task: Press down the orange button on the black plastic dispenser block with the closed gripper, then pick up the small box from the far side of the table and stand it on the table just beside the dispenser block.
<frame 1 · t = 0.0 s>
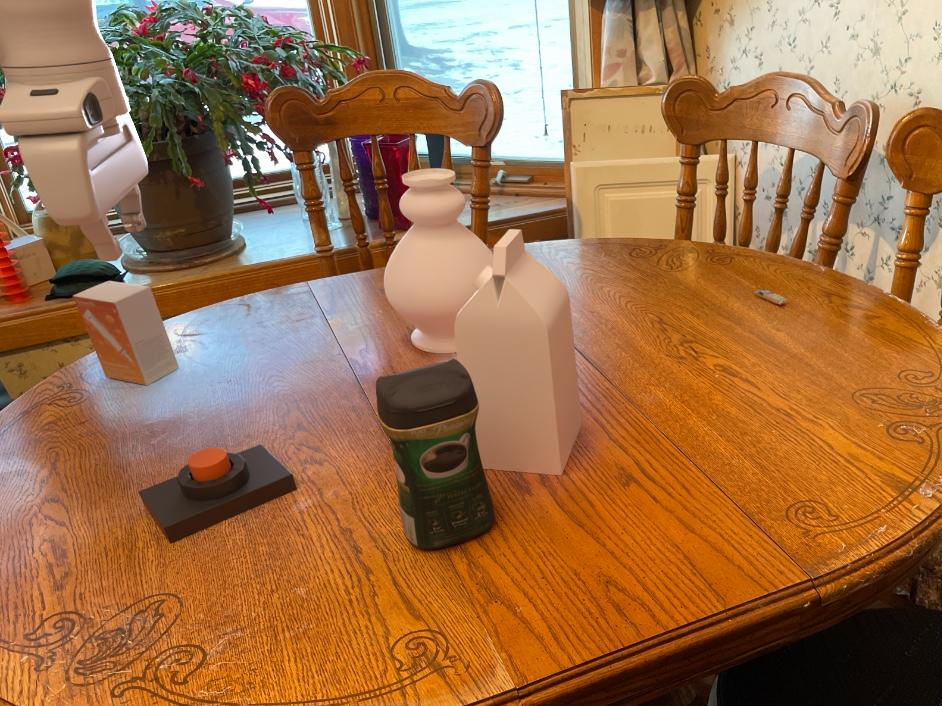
hand: (125, 244, 79), 28 cm above the table, tool pointing down, fingers open, 8 cm apart
small box: (143, 374, 116), on the table
decorative vase: (451, 337, 124), on the table
granola bar: (770, 300, 133), on the table
coffee jar: (449, 527, 83), on the table
dispenser: (221, 498, 89), on the table
milk: (527, 445, 97), on the table
button: (209, 464, 86), point 5 cm above the table, slide at 0.1 cm
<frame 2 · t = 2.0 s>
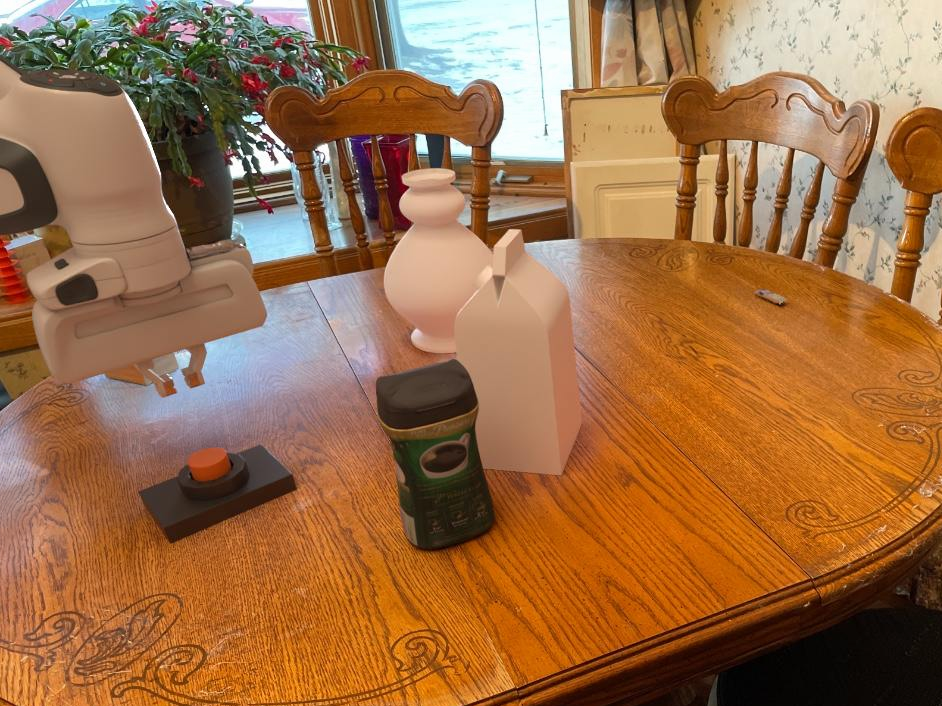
hand: (182, 389, 81), 14 cm above the table, tool pointing down, fingers closed
nothing on the table moved.
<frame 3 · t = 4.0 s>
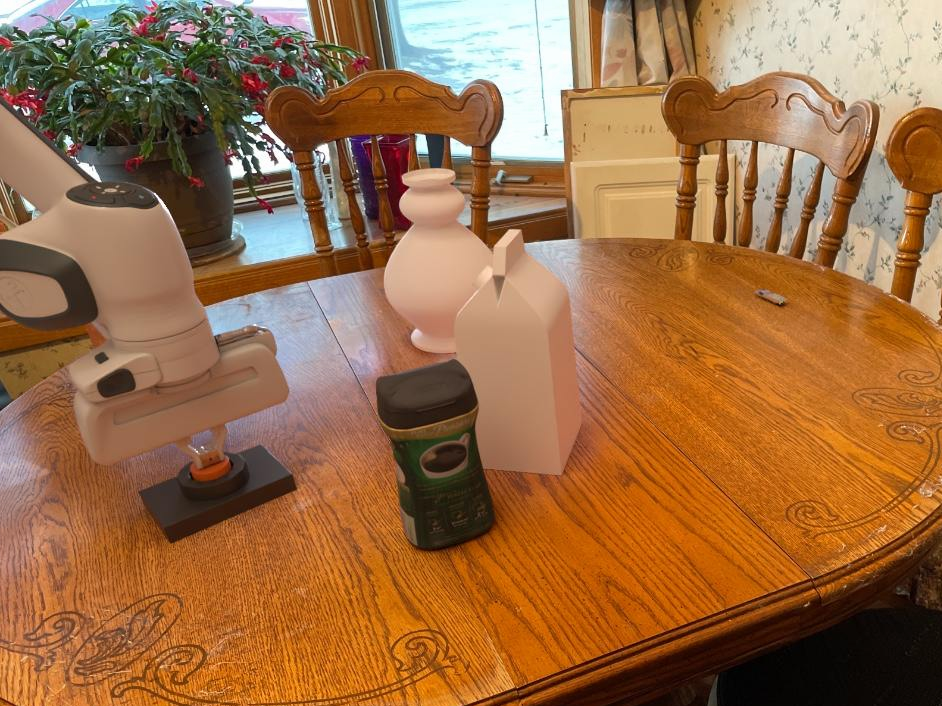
hand: (210, 463, 86), 5 cm above the table, tool pointing down, fingers closed, pressing on button
button: (212, 471, 87), point 4 cm above the table, slide at -0.8 cm, touching gripper
everything else where it was.
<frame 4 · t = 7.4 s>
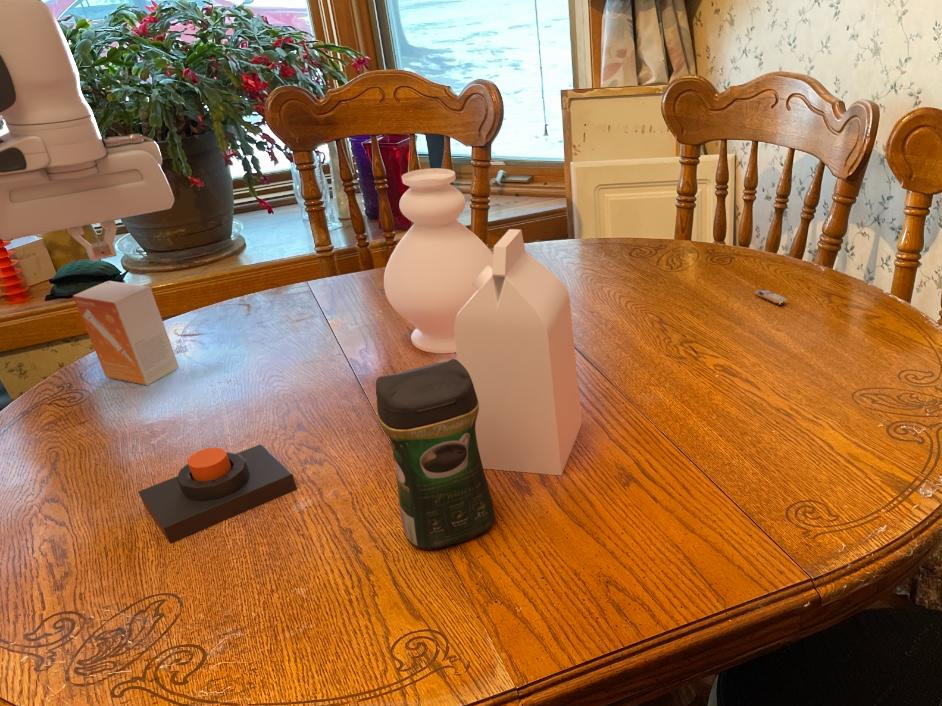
hand: (103, 257, 100), 20 cm above the table, tool pointing down, fingers closed
button: (209, 464, 86), point 5 cm above the table, slide at 0.1 cm
everything else where it was.
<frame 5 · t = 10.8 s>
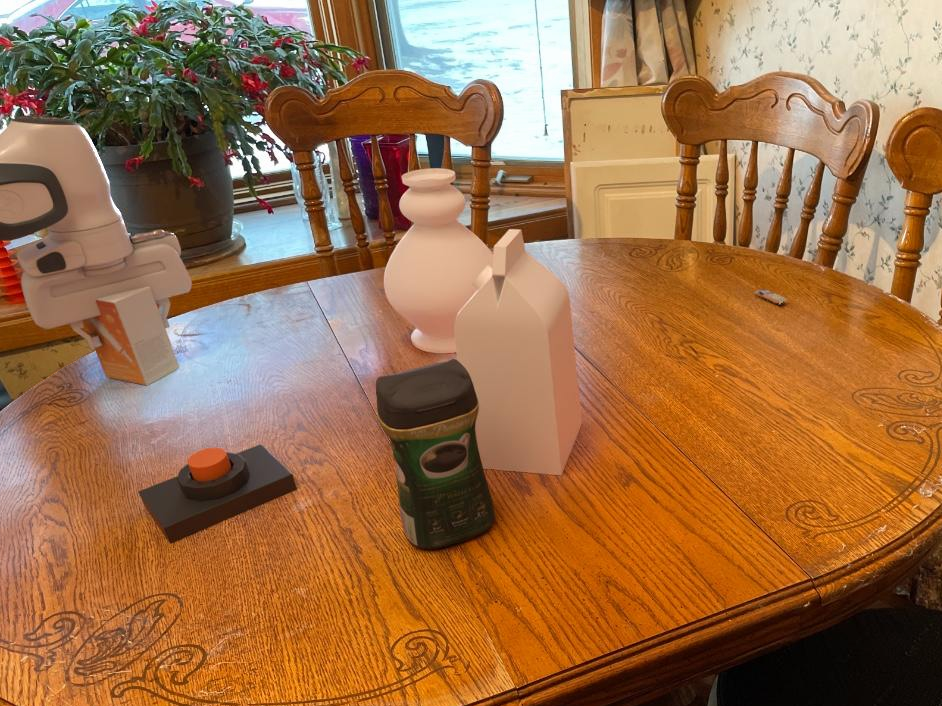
hand: (130, 337, 113), 6 cm above the table, tool pointing down, fingers closed on small box, 8 cm apart
small box: (144, 374, 116), on the table, touching gripper
everything else where it was.
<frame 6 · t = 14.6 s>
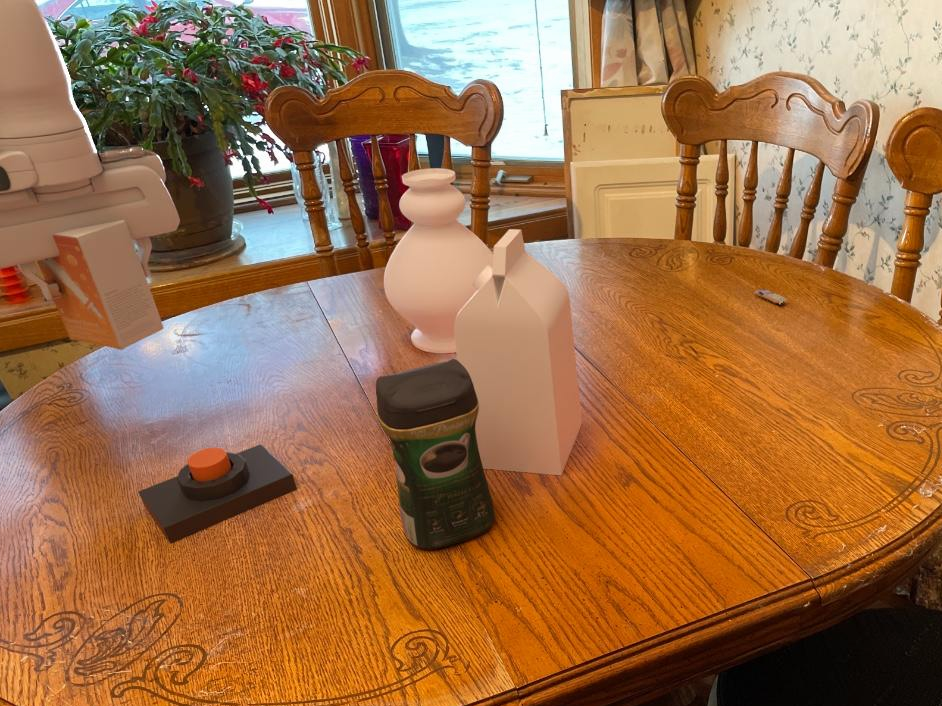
hand: (99, 287, 88), 21 cm above the table, tool pointing down, fingers closed on small box, 8 cm apart
small box: (118, 336, 91), point 15 cm above the table, touching gripper
everything else where it was.
when the fingers open (6 cm above the table, at t = 18.9 s): small box stays where it is, on the table.
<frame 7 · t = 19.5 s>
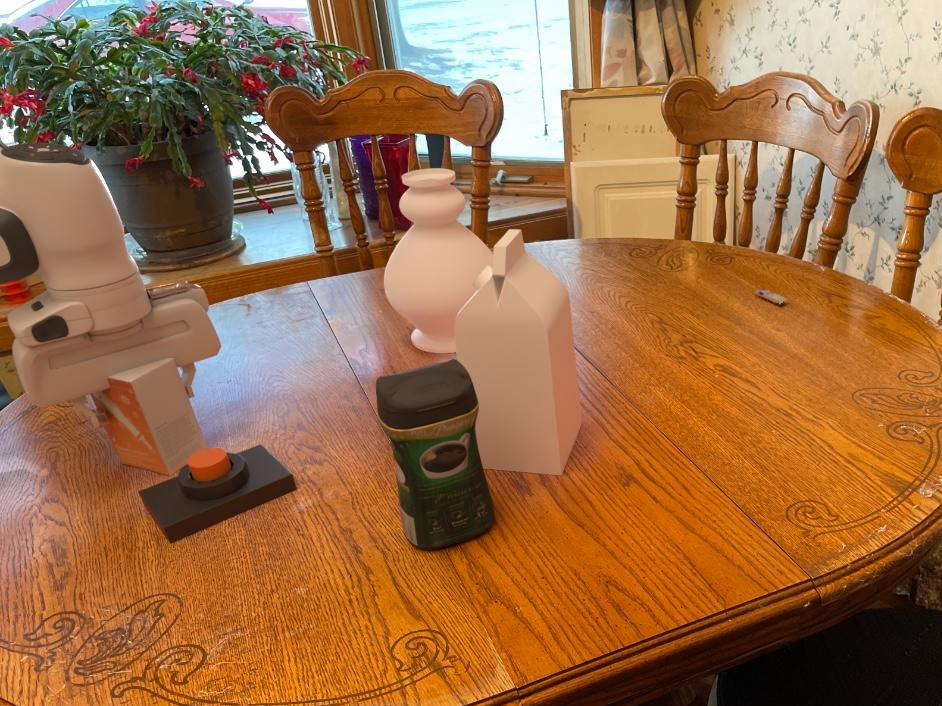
hand: (145, 411, 92), 7 cm above the table, tool pointing down, fingers open, 8 cm apart
small box: (165, 458, 96), on the table, touching gripper
everything else where it was.
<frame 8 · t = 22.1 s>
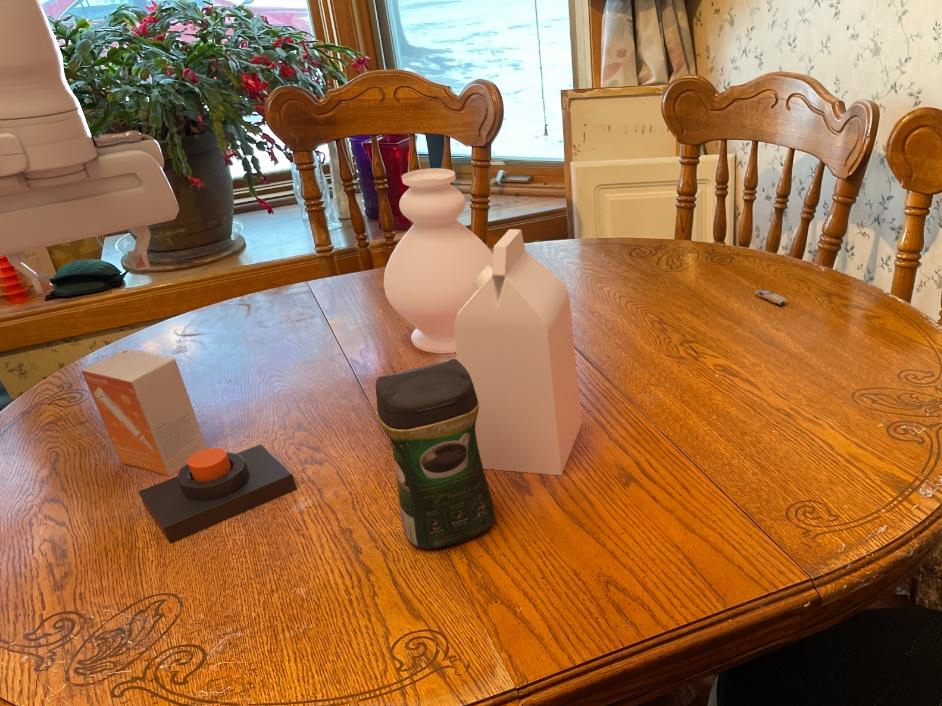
hand: (95, 279, 84), 23 cm above the table, tool pointing down, fingers open, 8 cm apart
small box: (166, 459, 96), on the table
everything else where it was.
at the end: button pushed in 1.0 cm at the most during the clip, back to where it started at the end; button slide at 0.1 cm; small box inside the target area on the table beside the dispenser (0.1 cm from its centre), on the table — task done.
